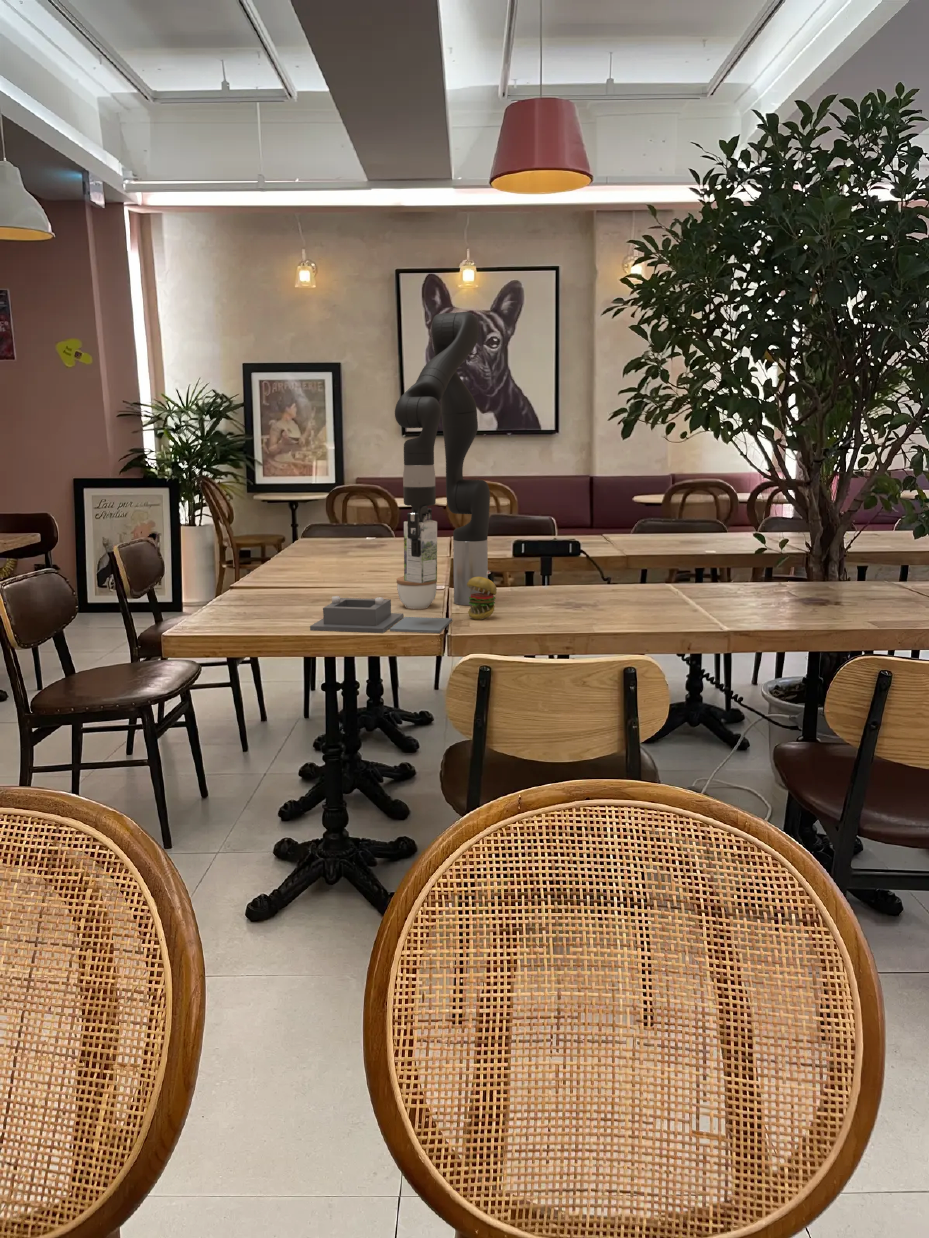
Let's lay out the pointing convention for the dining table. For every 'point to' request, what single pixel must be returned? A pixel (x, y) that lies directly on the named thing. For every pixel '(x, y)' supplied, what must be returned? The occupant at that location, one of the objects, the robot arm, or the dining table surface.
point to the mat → (421, 624)
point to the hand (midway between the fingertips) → (420, 554)
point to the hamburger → (481, 597)
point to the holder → (357, 615)
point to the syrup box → (426, 564)
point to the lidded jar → (416, 593)
